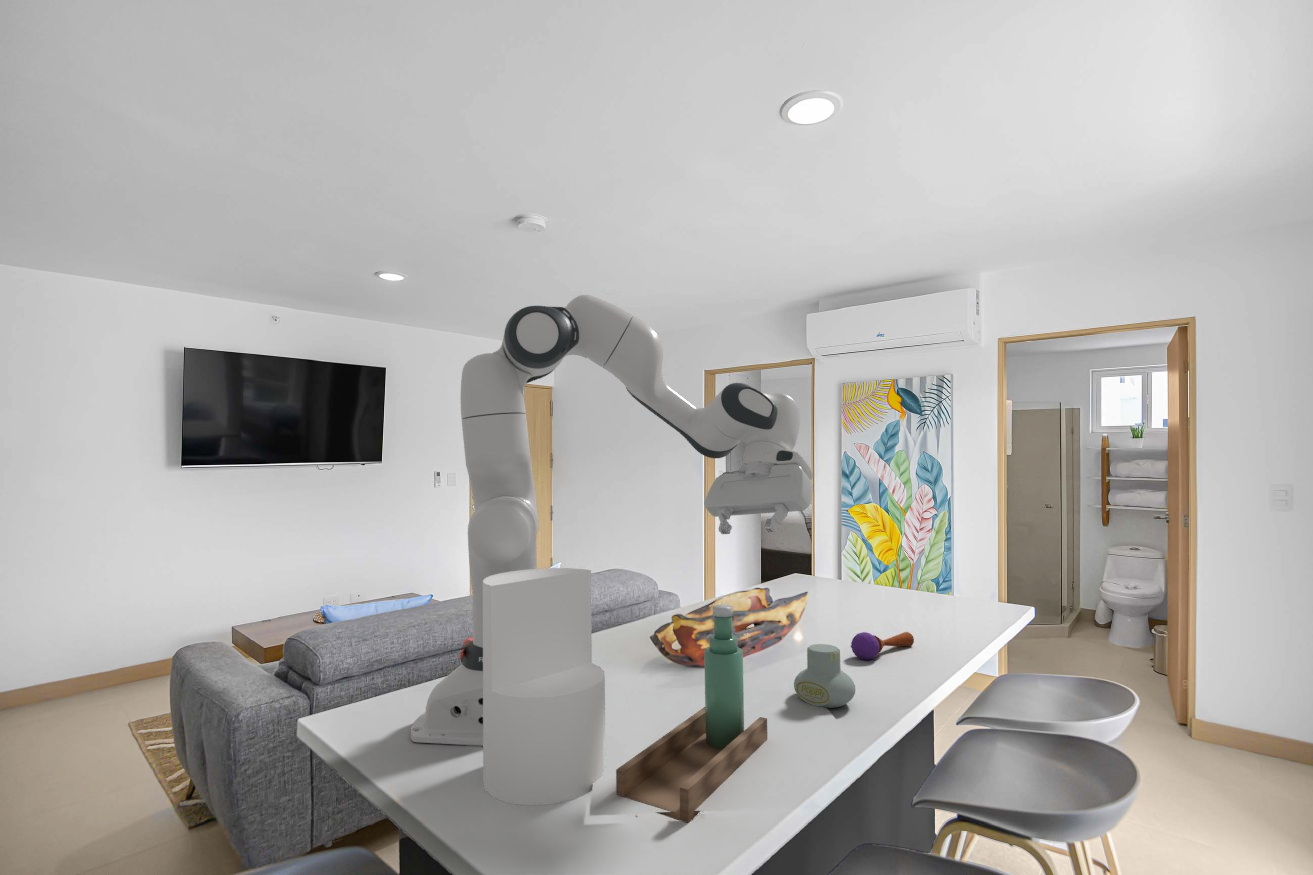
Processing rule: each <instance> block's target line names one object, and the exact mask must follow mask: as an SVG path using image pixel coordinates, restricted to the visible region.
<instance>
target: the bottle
mask: <svg viewBox="0 0 1313 875" xmlns="http://www.w3.org/2000/svg"><path fill="white" fill-rule="evenodd" d="M712 615H713V633H714V634H711V635H709V638H708V639H709V640H708V643H709V644H708V647H706V648H704V652H703V653H704V655H703V656H704V658H703V659H704V700H705V701H704V707H705V722H706V743H707V744H708V745H709V746H711V747H713V748H716V749H724V748H725V747H726V746H727V745H729V744H730V743H731V742H732V741H733V740H734V739H735V738H737V737H738V736H739V735H740V734H741V733H742V732H743V731H745V706H744V705H745V704H744V703H745V702H744V699H745V698H744V697H745V696H744V651H743V648H740V647H739V646H738V637H737V636H736V635H734V634H733V616H734V606H732V605H728V604H716V605H713V606H712Z"/></svg>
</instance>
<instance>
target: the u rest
mask: <svg viewBox="0 0 1313 875" xmlns="http://www.w3.org/2000/svg"><path fill="white" fill-rule="evenodd" d="M767 741H768V718H766V717H761V716H759V717H758V718H756V720H755V721H754V722H752V723H751V724H750V725H749V726H748V727H747V728H746V729H744V731H743V732H742V733H741V734H740V735H739V736H738V737H737V738H735V739H734V740H733V741H732V742H731V743H730V744H729V745H727V746H726V747H725V748H724V749H716V748H713V747H711V746H709V745H708V744H707V743H706V722H705V706H704V707H702V708H701V709H700V710H698V711H696V713H694V714H692V715H691V716H690V717H688V718H687V719H685V720H684V721H682V722H681V723H679V724H678V725H677V726H676V727H675V728H673V729H671V730H670V731H668V732H667V733H665V734H664V735H663V736H661V737H659V738H658V739H657V740H656V741H654V742H653V743H651V744H650V745H648V746H647V747H646V748H645V749H643V750H642V751H641V752H638V754H636V755H634V757H632V758H631V759H629V760H628V761H626V762H625V763H624V764H622V765H621V766H619V767H617V769H616V770H615V775H616V776H615V783H616V784H615V785H616V786H615V789H616V795H617V796H619V797H621V798H626V799H629V800H632V801H635V802H638V803H639V802H640V803H642V804H645V805H649V806H652V807H656V808H659V809H662V810H665V811H661V812H660V811H658V812H655V811H654V812H655V813H656V814H659V815H662V816H665V817H669V818H670V819H671V818H672V819H675V820H678V821H681V822H685V823H687V824H690V822H691V821H693V820H694V819H695V817H696V816H698V815H699V813H700V812H701V810H697V809H698V808H699V807H700V806H701V805H702V804H703V803H704V802H705V801H707V799H708V798H710V797H711V796H712V794H713V793H715V791H717V789H719V788H720V787H721V786H722V785H723V784H724V783H725V782H726V781H727V780H728V779H729V777H731V776H732V775H733V774H734V773H735V772H736V771H737V770H738V769H739V768H740V767H741V766H743V764H745V762H746V761H747V760H749V758H751V756H752V755H753V754H754V753H755V752H756V751H758V749H759V748H761V746H762V745H763V744H765V743H766V742H767Z"/></svg>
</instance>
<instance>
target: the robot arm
mask: <svg viewBox="0 0 1313 875" xmlns="http://www.w3.org/2000/svg"><path fill="white" fill-rule="evenodd" d="M503 332H504V334H503V338H502V342H501V345H500V347H499V349H497V350H496V351H494V352H493V351H492V352H491V353H488V352H487V353H482V354H478V355H475V356H473V357H471V358H470V359H469V360H467V361H466V363H465V364H464V366H463V368H462V371H461V381H460V418H461V427H462V437H463V438H462V439H463V448H464V457H465V458H464V459H465V460H464V461H465V466H466V470H467V474H468V479H469V483H470V487H471V488H470V489H471V494H472V500H473V505H474V506H473V507H474V512H473V513H472V514H471V517H470V518H469V522H468V525H467V546H468V562H469V573H470V574H469V575H470V584H471V592H472V593H471V595H472V596H471V597H472V637H468V638H466V640H464V642H463V645H462V647H461V649H460V651H459V654H460V655H459V659H460V663H461V664H460V665H459V666H458V667H456V668H455V669H454V670H453V671H451V672H450V673H449V674H448V675H447V676H445V677H444V678H443V679H442V680H440V682H438V683H437V684H436V686H435V687H434V688H433V689H432V690H431V692H430V694H429V696H428V699H427V701H426V706H425V711H424V712H423V713H422V714H420V715H419V716H418V717H417V718H416V719H415V720H414V722H413V724H412V725H411V727H410V740H411V741H412V742H413V743H414V742H415V743H423V744H424V743H425V744H443V745H446V744H447V745H462V746H463V745H464V746H465V745H466V746H480V747H481V746H482V747H483V580H484V579H485V578H487V577H489V576H491V575H495V574H499V573H504V572H510V571H518V570H527V569H538V568H537V566H538V564H537V562H538V561H537V535H538V531H539V527H540V522H539V513H538V512H539V511H538V505H537V503H538V502H537V496H536V495H537V494H536V487H535V479H534V473H533V472H534V471H533V466H532V459H531V450H530V449H531V448H530V447H531V446H530V440H529V429H528V419H527V411H526V409H527V408H526V401H525V399H526V398H525V389H526V384H529V383H531V382H533V381H536V380H538V379H543V378H545V377H546V376H548V375H550V374H551V373H553V372H554V371H555V370H556V369H557V367H559V365H560V364H561V363H562V361H563V360H564V358H565V357H568V356H571V355H572V356H580V357H583V358H585V359H588V360H590V361H592V362H593V363H594V364H596V365H597V366H599V367H601V368H602V369H605V370H606V371H607V372H608V373H610V374H611V375H613V376H614V377H615V378H617V380H619V381H620V382H621V384H623V385H624V386H625V388H626V391H627V392H628V393H629V395H631V397H632V398H633V399H634V400H635V401H637V402H638V403H639V404H640V405H642V406H643V407H644V408H645V409H646V410H648V411H649V412H651V413H653V414H654V415H655V416H657V417H658V419H661V420H662V421H663V422H665V423H666V424H667V425H668V426H669V427H671V428H672V429H674V430H675V431H677V432H678V433H679V434H680V435H681V436H683V438H685V440H686V441H687V442H688V443H689V444H690V446H691V447H692V448H693V449H695V451H697V452H698V453H699V454H701V455H703V456H704V457H707V458H709V459H722V458H724V457H726V456H729V455H730V453H731V452H732V451H733V450H734V449H735V448H736V447H737V446H738V444H740V443H741V442H743V443H744V445H745V449H744V452H743V455H742V459H741V461H740V466H739V467H738V468H739V470H735V471H734V470H733V471H725V472H722V474H721V475H718V476H717V477H716V478H715V479H714V481H713V482H712V484H711V486H710V487H709V490H708V492H707V494H706V497H705V499H704V501H703V504H704V508H705V509H706V511H708V513H710V514H711V516H712V517H715V518H717V517H718V520H719V522H720V523H719V526H718V532H719V533H720V534H721V535H730V534H731V531H732V529H733V525H731V524H730V522H729V521H728V520H730V519H731V516H747V515H759V514H760V515H762V514H772V516H771V517H770V518H766V520H765V524H764V529H765V530H766V531H767V532H768V533H777V532H778V528H779V526H780V524H782V522H783V521H784V520H785V519H786V517H788V513H791V512H792V513H793V512H804V511H806V509H808V507H810V504H811V501H812V496H813V486H814V485H813V483H812V479H813V477H814V473H813V471H812V468H811V467H810V465H809V464H808V462H807V461H806V460H805V458H804V457H803V456H802V454H800V453H799V452H798V451H795V450H793V449H794V448H795V446H796V444H797V440H798V439H797V438H798V435H799V431H800V424H801V414H800V409H799V406H798V404H797V402H796V401H795V399H794V398H792V397H791V396H789V395H787V394H785V393H782V392H775V391H774V392H769V393H766V392H761V391H759V390H758V389H756V388H755V387H753V386H751V385H749V384H746V383H743V382H732V383H729V384H728V385H726V386H725V387H723V389H722V390H721V391H720V392H719V393H718V394H717V395H716V396H715V397H714V398H713V399H712V400H711V402H709V403H708V404H707V405H706V406H705V407H698V406H695V405H693V404H692V403H691V402H690V401H688V400H686V399H685V398H684V397H683V396H682V395H680V394H679V393H677V392H676V391H675V390H674V389H672V388H671V387H670V386H669V385H668V384H667V383H666V381H665V379H664V377H663V374H662V366H663V359H664V349H663V345H662V340H661V338H660V336H659V334H658V332H656V331H655V330H654V328H652V327H651V326H650V325H649V324H647V323H646V322H645V321H643V320H641V319H639V318H638V317H636V316H635V315H633V314H632V313H629V312H628V311H626V310H624V309H623V308H621V307H619V306H617V305H615V304H613V303H610V302H608V301H606V300H603V299H601V298H598V297H595V296H593V295H590V294H581V295H578V296H576V297H575V298H573V299H572V300H570V302H568V303H567V305H566V306H565V307H563V306H548V305H546V306H545V305H530V306H529V305H528V306H525V307H523V308H520V309H519V310H517V311H516V312H515V313H513V315H512V316H510V318H509V319H508V321H507V322H506V325H505V329H504V331H503Z"/></svg>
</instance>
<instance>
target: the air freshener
mask: <svg viewBox="0 0 1313 875" xmlns="http://www.w3.org/2000/svg"><path fill="white" fill-rule="evenodd" d="M806 648H807V649H806V653H807V654H806V656H807V657H806V658H807V659H806V660H807V662H806V664H807V666H806V667H807V668H805V669H803V670H801V671H800V672H798V674H797V675H796V676H795V678H794V682H793V687H794V691H795V693H796V695H797V697H799V698H800V699H801V700H802V701H803V702H804V703H807V704H810V705H812V706H816V707H821V708H822V707H825V708H826V709H835V708H840V707H842V706H845V705H846V704H848V703H849V702H850V701H852V699H853V698H854V697H855V694H856V684H855V682H854V681H853V679H852V678H851V677H850V675H848V674H847V673H846V672H844V671H843V670H841V650H840V649H839V648H838V646H835V645H832V644H827V643H826V644H823V643H819V644H818V643H817V644H816V643H815V644H812V645H808V647H806Z"/></svg>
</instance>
